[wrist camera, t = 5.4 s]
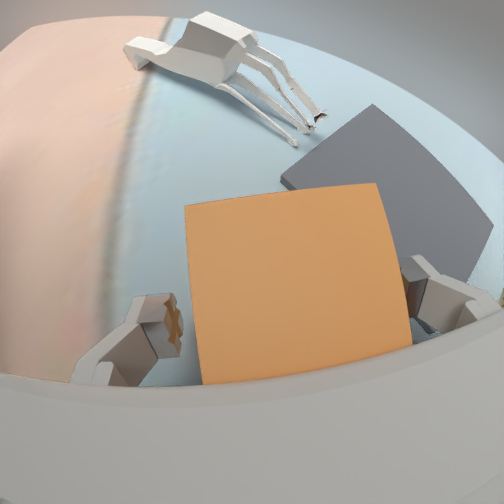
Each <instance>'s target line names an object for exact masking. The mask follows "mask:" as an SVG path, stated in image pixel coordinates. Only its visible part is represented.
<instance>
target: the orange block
mask: <svg viewBox="0 0 504 504" xmlns="http://www.w3.org/2000/svg"><path fill="white" fill-rule="evenodd" d="M185 224H186V240H187V253H188V265H189V277H190V287H191V297H192V307H193V316H194V324H195V332H196V340H197V348H198V355H199V362H200V369H201V375H202V382H203V385H209V384H221V383H232V382H241V381H250V380H258V379H265V378H272V377H279V376H285V375H291V374H297V373H303V372H308V371H313V370H318V369H323V368H328V367H333V366H337V365H342V364H346V363H350V362H354V361H358V360H362V359H366V358H370V357H374V356H377V355H381V354H384V353H388V352H391V351H395V350H398V349H401V348H405V347H408V346H411V345H413V343H412V335H411V328H410V321H409V314H408V308H407V302H406V297H405V291H404V286H403V281H402V277H401V272H400V267H399V263H398V259H397V254H396V250H395V246H394V242H393V238H392V235H391V231H390V227H389V224H388V220H387V217H386V213H385V210H384V207H383V203H382V200H381V197H380V194H379V191H378V188H377V185H376V183H366V184H353V185H341V186H330V187H320V188H310V189H301V190H292V191H283V192H275V193H267V194H260V195H252V196H245V197H238V198H231V199H224V200H218V201H211V202H205V203H199V204H193V205H187V206H185Z"/></svg>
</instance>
